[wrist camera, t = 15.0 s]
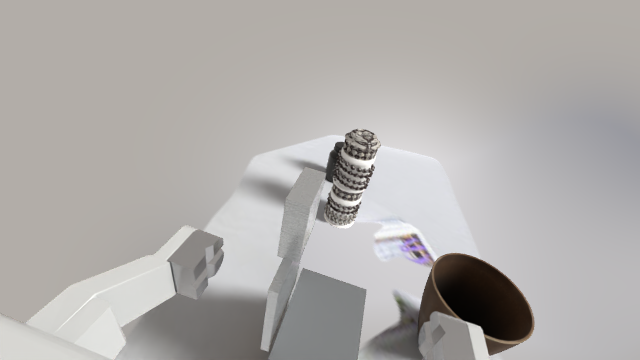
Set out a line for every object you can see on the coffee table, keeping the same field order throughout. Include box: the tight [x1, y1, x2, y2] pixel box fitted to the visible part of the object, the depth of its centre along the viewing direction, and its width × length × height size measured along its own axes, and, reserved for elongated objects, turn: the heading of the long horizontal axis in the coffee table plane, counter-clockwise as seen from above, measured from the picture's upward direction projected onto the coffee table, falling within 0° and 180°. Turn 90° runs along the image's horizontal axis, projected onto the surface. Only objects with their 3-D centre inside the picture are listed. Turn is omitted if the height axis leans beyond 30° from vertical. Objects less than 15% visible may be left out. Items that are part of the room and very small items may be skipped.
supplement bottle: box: [325, 142, 344, 183], centre depth 86 cm, size 7×7×12 cm
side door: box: [261, 167, 326, 352], centre depth 31 cm, size 10×2×20 cm, turn 165°
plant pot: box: [418, 253, 534, 356], centre depth 46 cm, size 15×15×16 cm
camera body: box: [268, 268, 366, 360], centre depth 40 cm, size 16×10×14 cm, turn 165°
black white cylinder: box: [324, 129, 381, 228], centre depth 67 cm, size 9×9×25 cm
